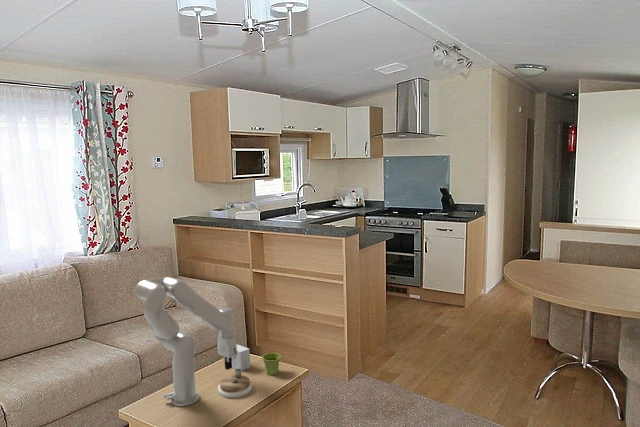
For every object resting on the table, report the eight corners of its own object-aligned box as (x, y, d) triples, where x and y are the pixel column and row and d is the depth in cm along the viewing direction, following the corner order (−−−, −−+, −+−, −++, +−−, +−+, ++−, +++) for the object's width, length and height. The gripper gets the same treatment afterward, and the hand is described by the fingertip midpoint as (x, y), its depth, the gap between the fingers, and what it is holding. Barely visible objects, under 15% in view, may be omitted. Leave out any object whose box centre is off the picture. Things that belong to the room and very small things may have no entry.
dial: (244, 393, 215) (244, 382, 214) (215, 391, 217) (215, 380, 216) (253, 378, 228) (253, 368, 228) (226, 377, 231) (225, 367, 230)
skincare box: (250, 367, 247) (250, 348, 246) (241, 371, 242) (240, 352, 241) (238, 362, 254) (237, 343, 252) (228, 366, 249) (227, 347, 248)
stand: (221, 400, 213) (220, 396, 212) (215, 385, 228) (215, 381, 227) (255, 393, 218) (255, 389, 218) (248, 379, 233) (247, 374, 233)
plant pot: (285, 371, 241) (284, 355, 240) (273, 378, 233) (272, 362, 232) (271, 367, 246) (270, 351, 245) (259, 374, 238) (258, 357, 237)
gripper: (211, 332, 232) (213, 367, 234) (230, 338, 222) (232, 375, 225) (222, 327, 238) (224, 362, 240) (242, 333, 228) (244, 369, 230)
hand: (228, 368), depth 232 cm, fingers closed
